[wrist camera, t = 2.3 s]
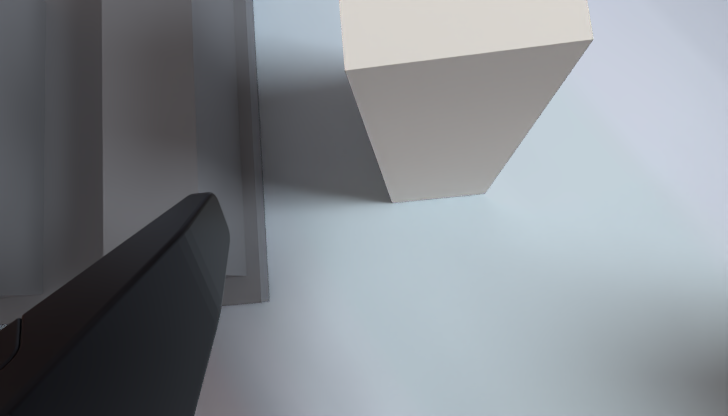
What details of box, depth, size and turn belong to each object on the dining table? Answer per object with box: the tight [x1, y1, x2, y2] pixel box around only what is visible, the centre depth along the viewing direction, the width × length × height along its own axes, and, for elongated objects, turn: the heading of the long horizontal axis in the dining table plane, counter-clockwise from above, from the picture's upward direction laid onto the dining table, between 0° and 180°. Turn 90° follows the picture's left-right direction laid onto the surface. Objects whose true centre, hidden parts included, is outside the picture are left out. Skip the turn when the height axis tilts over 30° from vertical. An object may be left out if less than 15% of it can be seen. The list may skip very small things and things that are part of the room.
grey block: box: [339, 0, 593, 203], centre depth 14 cm, size 5×4×12 cm
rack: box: [0, 0, 269, 325], centre depth 19 cm, size 14×12×5 cm
